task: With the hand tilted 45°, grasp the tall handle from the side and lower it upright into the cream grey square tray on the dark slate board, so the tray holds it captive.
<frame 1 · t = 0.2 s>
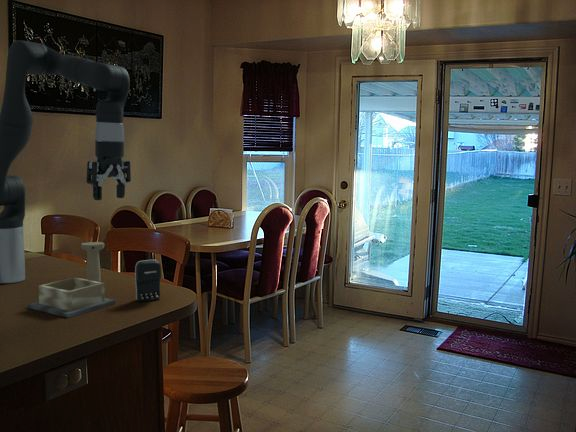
hand: (109, 199, 166), 29 cm above the counter, tool pointing down, fingers open, 8 cm apart
battery charger: (148, 300, 172), on the counter
cream grey square tray: (72, 305, 165), on the counter
handle: (94, 294, 178), on the counter
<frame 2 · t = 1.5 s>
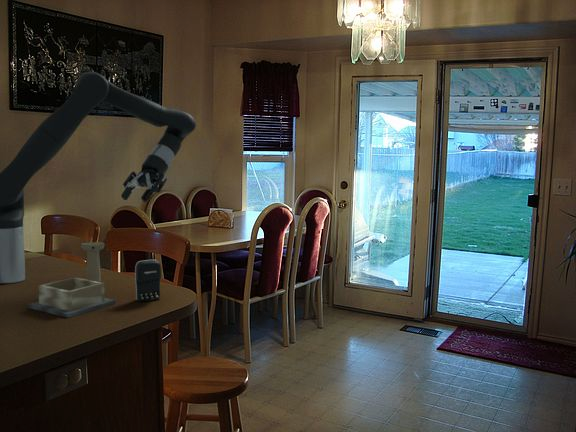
hand: (133, 199, 188), 27 cm above the counter, tool tilted 45°, fingers open, 8 cm apart
nothing on the counter moved.
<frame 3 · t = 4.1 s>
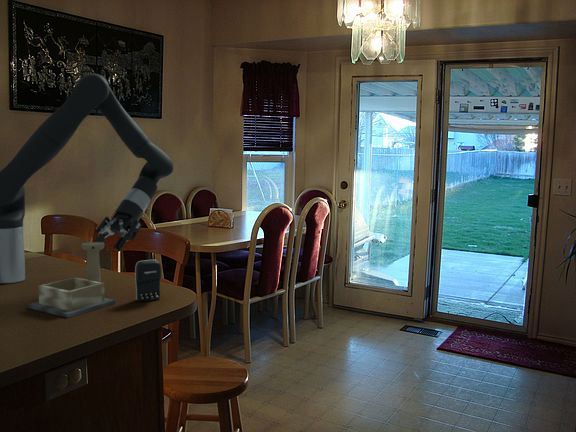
hand: (105, 247, 181), 13 cm above the counter, tool tilted 45°, fingers open, 8 cm apart
nothing on the counter moved.
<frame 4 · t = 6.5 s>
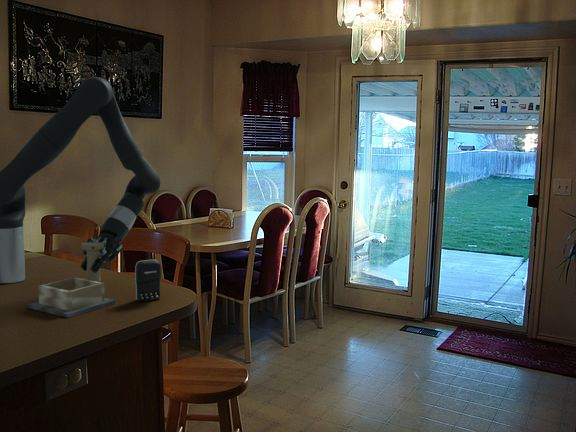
hand: (88, 269, 175), 8 cm above the counter, tool tilted 45°, fingers closed on handle, 3 cm apart
handle: (94, 294, 178), on the counter, touching gripper
everything else where it was.
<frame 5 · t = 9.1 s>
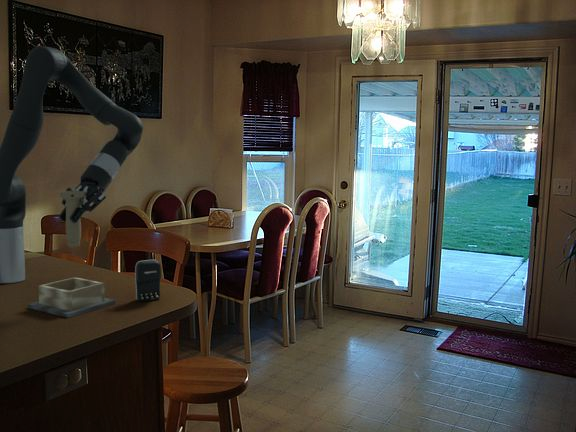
hand: (67, 220, 161), 24 cm above the counter, tool tilted 45°, fingers closed on handle, 3 cm apart
handle: (73, 247, 164), point 16 cm above the counter, touching gripper
everything else where it was.
when the fingers open (10 cm above the counter, at t = 12.2 s): handle drops 1 cm, resting on cream grey square tray.
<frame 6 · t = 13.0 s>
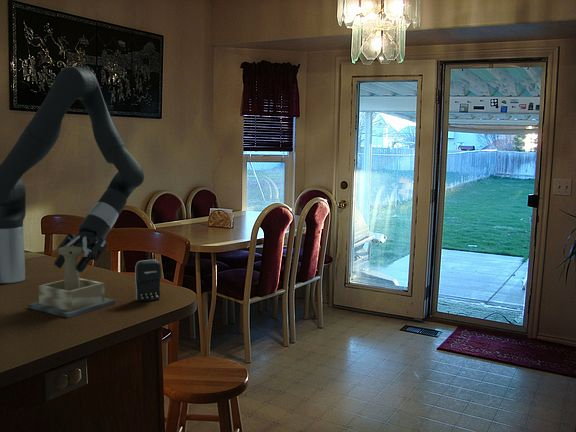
hand: (67, 268, 163), 11 cm above the counter, tool tilted 45°, fingers open, 8 cm apart
handle: (72, 302, 165), point 1 cm above the counter, touching cream grey square tray
everything else where it was.
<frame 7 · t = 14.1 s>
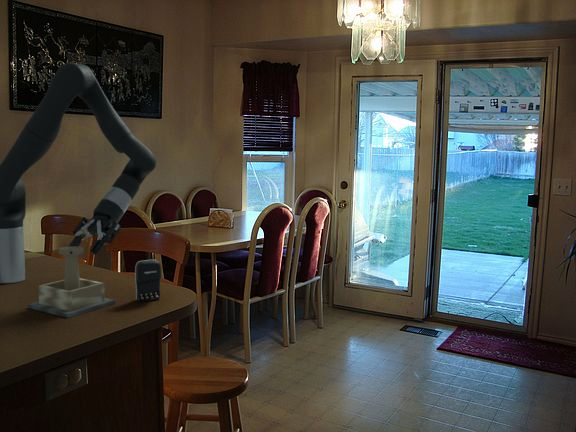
hand: (81, 251, 166), 15 cm above the counter, tool tilted 45°, fingers open, 8 cm apart
nothing on the counter moved.
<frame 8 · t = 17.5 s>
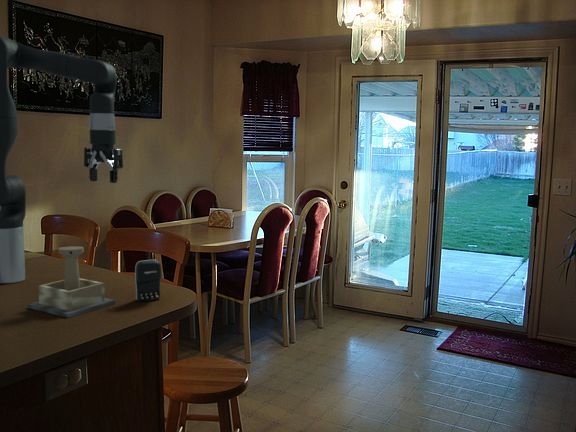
hand: (103, 182, 185), 32 cm above the counter, tool pointing down, fingers open, 8 cm apart
nothing on the counter moved.
at the end: handle 0.2 cm off-centre on the cream grey square tray, point 0.8 cm above the cream grey square tray's base; handle tilted 0°; the gripper is holding nothing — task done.
